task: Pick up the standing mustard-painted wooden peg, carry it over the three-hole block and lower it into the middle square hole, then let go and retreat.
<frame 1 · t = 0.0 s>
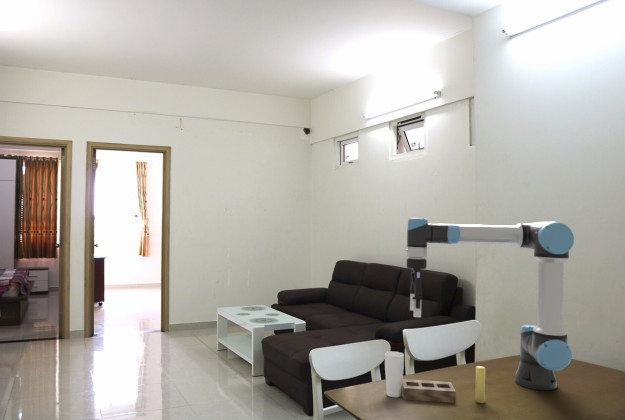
hand: (415, 313, 187), 28 cm above the table, fingers open, 13 cm apart
hole block: (427, 396, 177), on the table
peg: (479, 401, 173), on the table
drinking glass: (393, 395, 177), on the table
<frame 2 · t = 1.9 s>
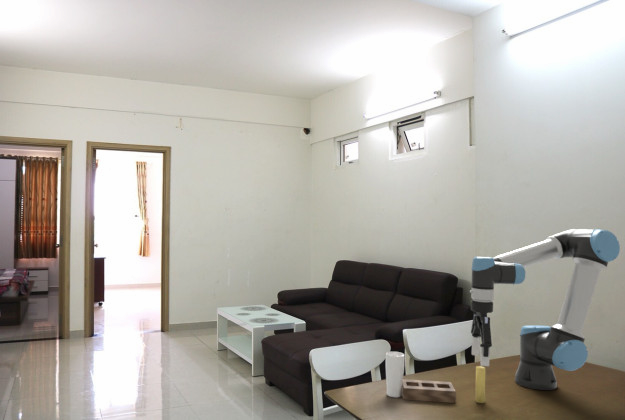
hand: (480, 360, 174), 15 cm above the table, fingers open, 13 cm apart
nothing on the table moved.
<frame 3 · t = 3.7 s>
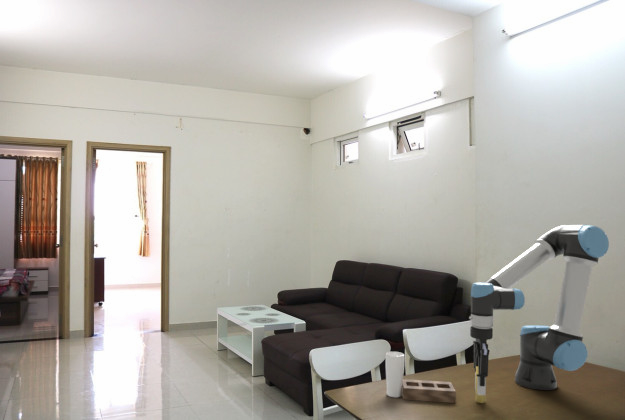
hand: (480, 392, 174), 3 cm above the table, fingers closed on peg, 3 cm apart
peg: (480, 401, 173), on the table, touching gripper
everything else where it was.
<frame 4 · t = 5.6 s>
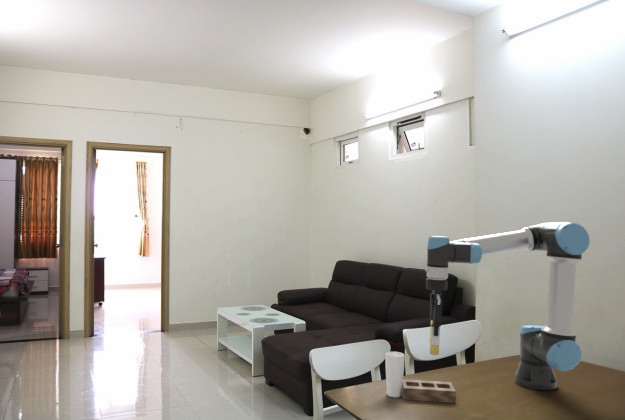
hand: (434, 343, 177), 19 cm above the table, fingers closed on peg, 3 cm apart
peg: (434, 353, 177), point 15 cm above the table, touching gripper
everything else where it was.
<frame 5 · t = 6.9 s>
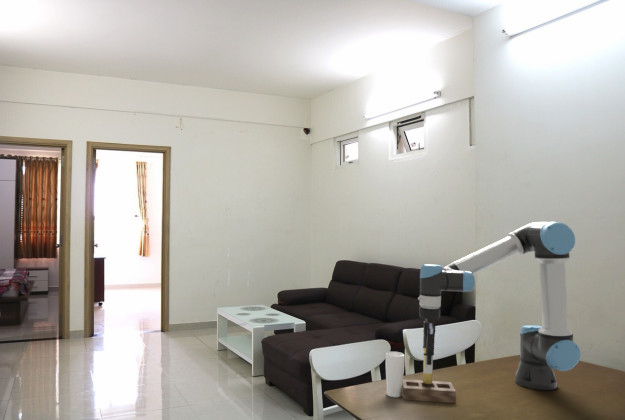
hand: (427, 371, 177), 9 cm above the table, fingers closed on peg, 3 cm apart
peg: (427, 382, 177), point 5 cm above the table, touching gripper
everything else where it was.
when the fingers open (5 cm above the table, at t = 7.8 s): peg drops 2 cm, resting in hole block.
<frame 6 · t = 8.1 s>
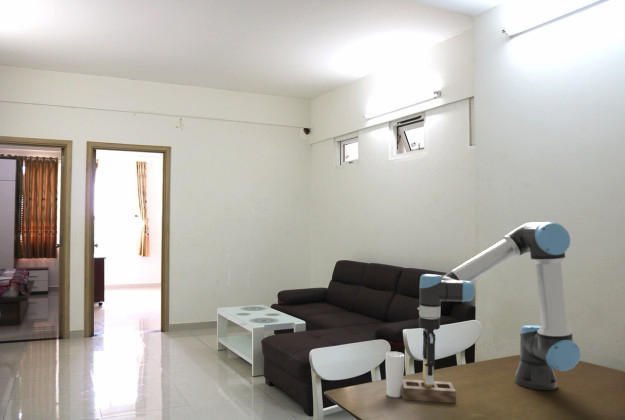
hand: (427, 380, 177), 6 cm above the table, fingers open, 7 cm apart
peg: (427, 395, 177), resting in hole block
everything else where it was.
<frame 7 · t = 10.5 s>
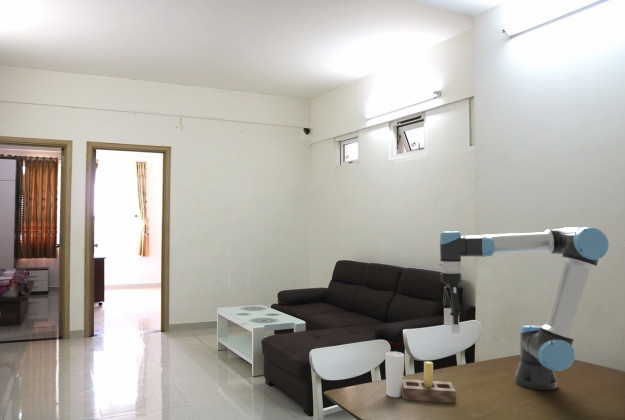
hand: (451, 329, 184), 23 cm above the table, fingers open, 13 cm apart
nothing on the table moved.
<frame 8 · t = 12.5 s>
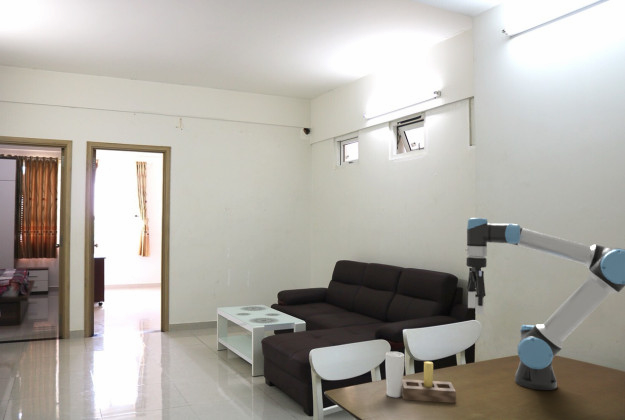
hand: (475, 310, 193), 29 cm above the table, fingers open, 13 cm apart
nothing on the table moved.
at the end: peg 0.1 cm off-centre on the hole block, point 0.0 cm above the hole block's base; peg tilted 0°; the gripper is holding nothing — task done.
